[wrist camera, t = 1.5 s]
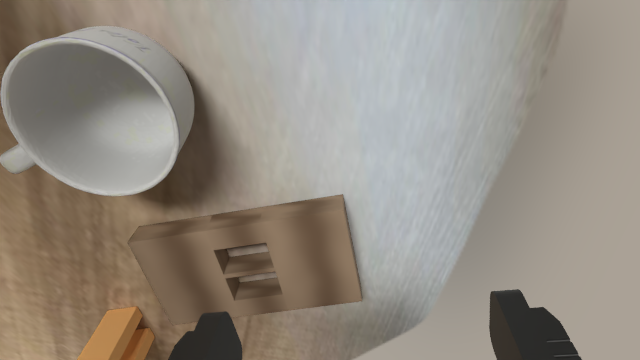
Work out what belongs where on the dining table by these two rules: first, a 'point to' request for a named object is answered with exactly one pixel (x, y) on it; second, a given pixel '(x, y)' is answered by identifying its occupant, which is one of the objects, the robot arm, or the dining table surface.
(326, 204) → the rectangular block with slots
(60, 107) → the teacup
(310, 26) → the dining table surface
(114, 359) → the tan u-shaped block
